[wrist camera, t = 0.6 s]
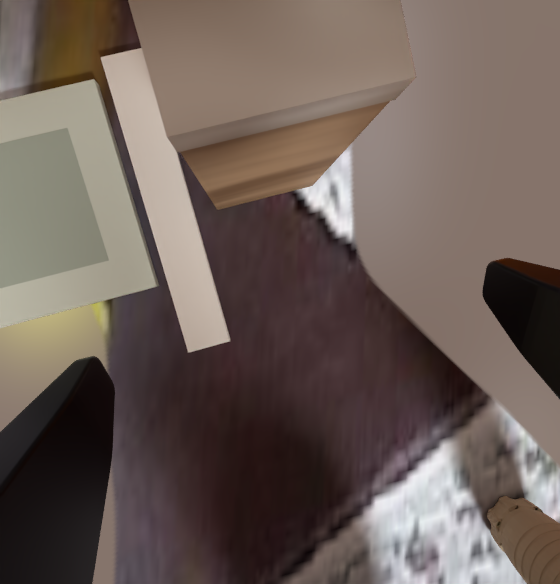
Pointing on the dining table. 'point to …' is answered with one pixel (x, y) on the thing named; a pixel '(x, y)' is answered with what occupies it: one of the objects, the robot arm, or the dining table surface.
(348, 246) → the dining table surface
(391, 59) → the block
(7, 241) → the pad
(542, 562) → the handle
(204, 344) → the strip
